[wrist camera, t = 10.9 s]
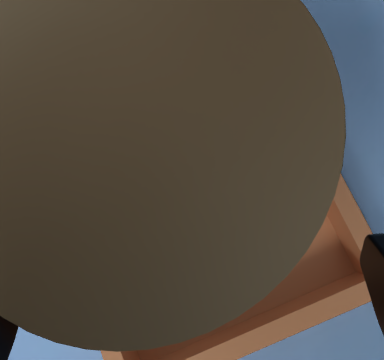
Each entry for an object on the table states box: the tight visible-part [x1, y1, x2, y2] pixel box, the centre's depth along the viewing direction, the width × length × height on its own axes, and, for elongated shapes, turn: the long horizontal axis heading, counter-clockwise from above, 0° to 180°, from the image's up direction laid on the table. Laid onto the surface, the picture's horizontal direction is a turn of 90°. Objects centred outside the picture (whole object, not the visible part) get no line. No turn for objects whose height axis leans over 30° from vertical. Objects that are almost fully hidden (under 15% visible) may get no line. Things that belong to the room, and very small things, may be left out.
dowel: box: [0, 0, 346, 352], centre depth 10 cm, size 4×4×14 cm
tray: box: [100, 173, 373, 360], centre depth 16 cm, size 13×13×2 cm
